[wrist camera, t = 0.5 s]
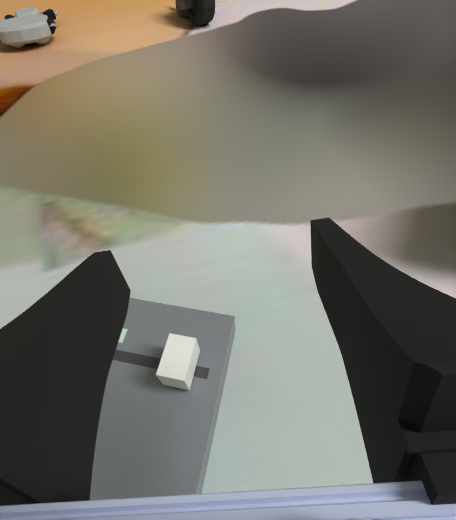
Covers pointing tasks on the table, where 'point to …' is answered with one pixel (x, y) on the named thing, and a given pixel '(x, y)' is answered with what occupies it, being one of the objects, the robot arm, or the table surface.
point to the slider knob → (178, 361)
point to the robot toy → (28, 27)
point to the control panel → (159, 405)
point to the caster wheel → (196, 10)
